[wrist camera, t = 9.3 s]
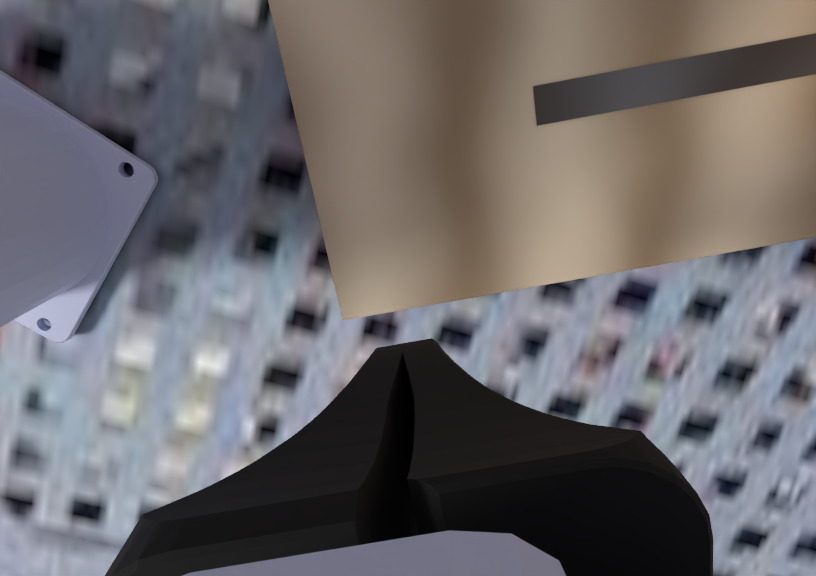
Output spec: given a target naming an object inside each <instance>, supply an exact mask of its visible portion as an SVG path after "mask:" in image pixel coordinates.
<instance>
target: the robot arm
mask: <svg viewBox="0 0 816 576" xmlns="http://www.w3.org/2000/svg"><path fill="white" fill-rule="evenodd" d="M126 162H127V163H130V164H131V165H132V166H133V169H134V173H133V175H132V176H129V175H127V174H126V173H125V171H124V164H125V163H126ZM157 182H158V175H157V173H156V171H155V169H154V168H153V167H152V166H151V165H149V164H148V163H146V162H144V161H143V160H141V159H140V158H138V157H136V156H135V155H133V154H132V153H130V152H129V151H127V150H125V149H124V148H122V147H121V146H119V145H118V144H116V143H114V142H113V141H111V140H110V139H108V138H107V137H105V136H103V135H102V134H100V133H99V132H97V131H96V130H94V129H92V128H91V127H89V126H88V125H86V124H85V123H83V122H81V121H80V120H78V119H77V118H75V117H74V116H72V115H70V114H69V113H67V112H66V111H64V110H62V109H61V108H59V107H58V106H56V105H55V104H53V103H51V102H50V101H48V100H47V99H45V98H44V97H42V96H40V95H39V94H37V93H36V92H34V91H33V90H31V89H29V88H28V87H26V86H25V85H23V84H22V83H20V82H18V81H17V80H15V79H14V78H12V77H11V76H9V75H7V74H6V73H4V72H3V71H1V70H0V327H1V326H3V325H5V324H7V323H9V322H10V321H12V320H15V321H16V322H18V323H20V324H22V325H24V326H26V327H28V328H29V329H31V330H33V331H35V332H37V333H39V334H40V335H42V336H44V337H46V338H48V339H50V340H52V341H54V342H57V343H63V342H65V341H67V340H69V339H70V338H71V337H72V336H73V335H74V334H75V332H76V330H77V329H78V327H79V325H80V323H81V321H82V320H83V318H84V316H85V314H86V312H87V310H88V309H89V307H90V305H91V303H92V301H93V300H94V298H95V296H96V294H97V292H98V291H99V289H100V287H101V285H102V283H103V281H104V280H105V278H106V276H107V274H108V272H109V271H110V269H111V267H112V265H113V263H114V262H115V260H116V258H117V256H118V254H119V252H120V251H121V249H122V247H123V245H124V243H125V242H126V240H127V238H128V236H129V234H130V232H131V231H132V229H133V227H134V225H135V223H136V222H137V220H138V218H139V216H140V214H141V213H142V211H143V209H144V207H145V205H146V203H147V202H148V200H149V198H150V196H151V194H152V193H153V191H154V189H155V187H156V185H157ZM44 318H45V319H48V320H49V321H50V323H51V327H50V326H47V325H46V324H45V323H44V321H43V319H44ZM105 576H713V535H712V529H711V523H710V517H709V514H708V512H707V510H706V508H705V507H704V505H703V503H702V501H701V499H700V498H699V496H698V494H697V493H696V491H695V490H694V489H693V488H692V486H691V485H690V484H689V482H688V481H687V480H686V479H685V477H684V476H683V475H682V474H681V472H680V471H679V470H678V469H677V468H676V467H675V466H674V465H673V463H672V462H671V461H670V460H669V459H668V458H667V457H666V456H665V455H664V454H663V453H662V452H661V451H660V450H659V449H658V448H657V447H656V446H655V445H654V444H653V443H652V442H651V441H650V440H649V439H648V438H647V437H646V436H645V435H644V434H643V433H642V432H641V431H636V430H629V429H621V428H613V427H605V426H597V425H590V424H585V423H581V422H576V421H572V420H568V419H563V418H559V417H556V416H552V415H549V414H545V413H542V412H540V411H537V410H534V409H531V408H529V407H526V406H523V405H521V404H518V403H516V402H514V401H511V400H509V399H507V398H505V397H503V396H502V395H500V394H498V393H496V392H494V391H492V390H490V389H488V388H487V387H485V386H484V385H482V384H481V383H480V382H478V381H477V380H475V379H474V378H473V377H471V376H470V375H469V374H468V373H466V372H465V371H464V370H463V369H462V368H461V367H460V366H458V365H457V364H456V363H455V362H454V361H453V360H452V359H451V358H450V357H449V356H448V355H447V354H446V353H445V352H444V351H443V350H442V348H441V347H440V346H439V344H438V343H437V342H436V341H435V340H433V339H426V340H420V341H415V342H409V343H403V344H397V345H392V346H386V347H380V348H376V349H375V351H374V352H373V353H372V354H371V356H370V357H369V358H368V360H367V361H366V362H365V364H364V365H363V366H362V367H361V369H360V370H359V371H358V373H357V374H356V375H355V376H354V377H353V379H352V380H351V381H350V382H349V384H348V385H347V386H346V387H345V388H344V389H343V390H342V391H341V392H340V393H339V394H338V395H337V397H336V398H335V399H334V400H333V401H332V402H331V403H330V404H329V405H328V406H327V407H326V408H325V409H324V410H323V411H322V412H321V413H320V414H319V415H318V416H317V417H315V418H314V419H313V420H312V421H311V422H310V423H309V424H307V425H306V426H305V427H304V428H302V429H301V430H300V431H299V432H298V433H296V434H295V435H294V436H292V437H291V438H290V439H288V440H287V441H285V442H284V443H282V444H281V445H279V446H278V447H276V448H275V449H273V450H272V451H270V452H269V453H267V454H266V455H264V456H263V457H261V458H260V459H258V460H257V461H255V462H253V463H252V464H250V465H248V466H246V467H245V468H243V469H241V470H239V471H238V472H236V473H234V474H232V475H230V476H228V477H226V478H224V479H223V480H221V481H219V482H217V483H215V484H213V485H211V486H209V487H207V488H204V489H202V490H200V491H198V492H196V493H193V494H191V495H189V496H186V497H184V498H182V499H179V500H177V501H174V502H172V503H170V504H167V505H165V506H163V507H160V508H158V509H156V510H153V511H150V512H148V513H145V514H143V516H142V517H141V519H140V520H139V522H138V523H137V525H136V526H135V528H134V529H133V531H132V533H131V534H130V536H129V538H128V539H127V541H126V542H125V544H124V546H123V547H122V549H121V551H120V552H119V554H118V555H117V557H116V559H115V560H114V562H113V563H112V565H111V567H110V568H109V570H108V572H107V573H106V575H105Z"/></svg>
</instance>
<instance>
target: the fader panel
mask: <svg viewBox="0 0 816 576" xmlns="http://www.w3.org/2000/svg"><path fill="white" fill-rule="evenodd" d="M268 2H269V7H270V11H271V15H272V19H273V24H274V28H275V32H276V36H277V41H278V45H279V49H280V54H281V58H282V62H283V66H284V71H285V75H286V79H287V84H288V88H289V92H290V96H291V101H292V105H293V109H294V114H295V118H296V122H297V126H298V131H299V135H300V139H301V143H302V148H303V152H304V156H305V161H306V165H307V169H308V173H309V178H310V182H311V186H312V191H313V195H314V199H315V203H316V208H317V212H318V216H319V221H320V225H321V229H322V233H323V238H324V242H325V246H326V250H327V255H328V259H329V263H330V268H331V272H332V276H333V280H334V285H335V289H336V293H337V298H338V302H339V306H340V310H341V315H342V319H343V320H348V319H354V318H359V317H365V316H371V315H376V314H382V313H388V312H393V311H399V310H405V309H410V308H416V307H422V306H427V305H433V304H439V303H444V302H450V301H456V300H461V299H467V298H473V297H478V296H484V295H490V294H496V293H501V292H507V291H513V290H518V289H524V288H530V287H535V286H541V285H547V284H552V283H558V282H564V281H569V280H575V279H581V278H586V277H592V276H598V275H603V274H609V273H615V272H620V271H626V270H632V269H637V268H643V267H649V266H655V265H660V264H666V263H672V262H677V261H683V260H689V259H694V258H700V257H706V256H711V255H717V254H723V253H728V252H734V251H740V250H745V249H751V248H757V247H762V246H768V245H774V244H779V243H785V242H791V241H797V240H802V239H808V238H814V237H816V0H268Z"/></svg>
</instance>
